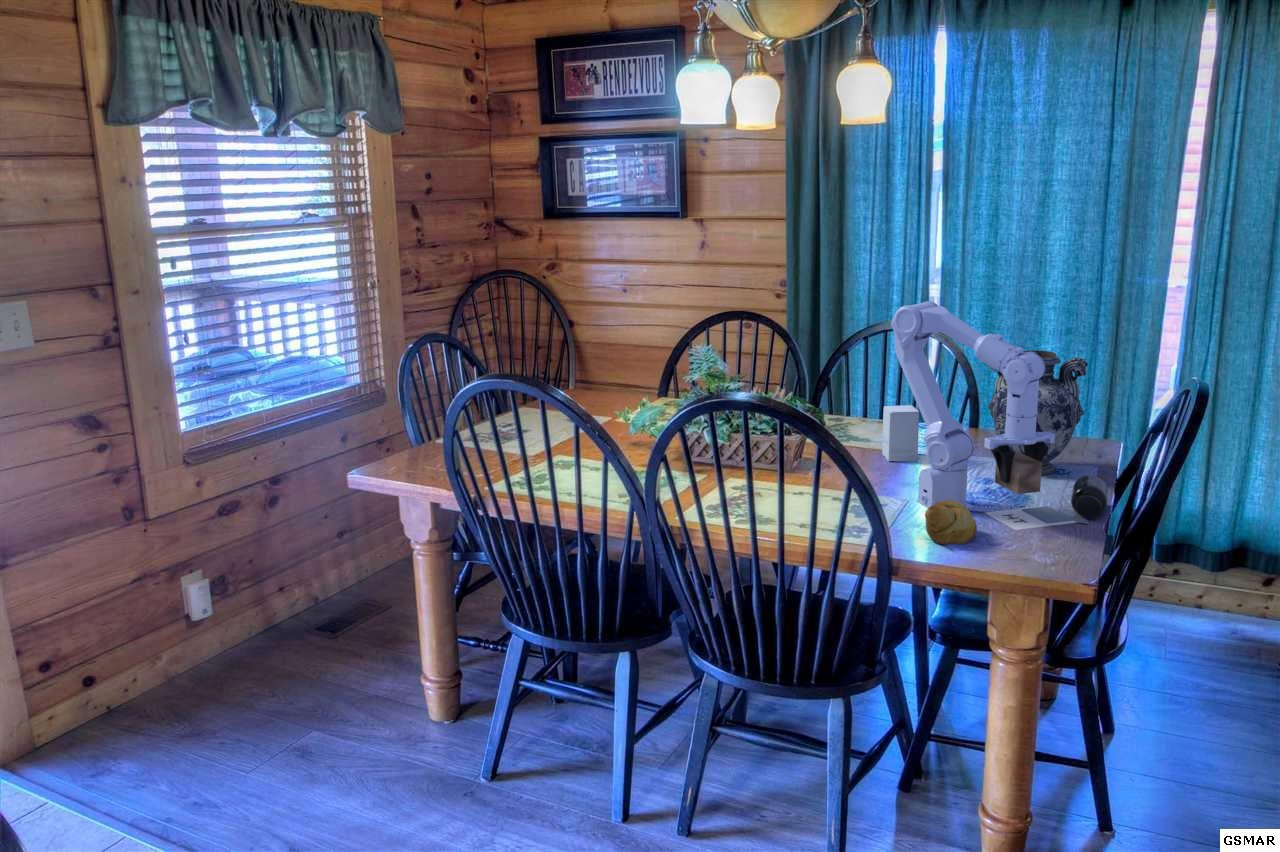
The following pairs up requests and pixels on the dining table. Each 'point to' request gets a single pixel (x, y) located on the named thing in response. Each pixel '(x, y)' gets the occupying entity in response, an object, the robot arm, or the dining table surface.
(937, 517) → the bread roll
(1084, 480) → the supplement bottle
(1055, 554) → the dining table surface
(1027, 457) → the walnut block
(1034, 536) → the dining table surface
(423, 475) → the dining table surface
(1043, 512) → the pad
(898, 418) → the supplement box
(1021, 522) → the board
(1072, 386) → the decorative vase
